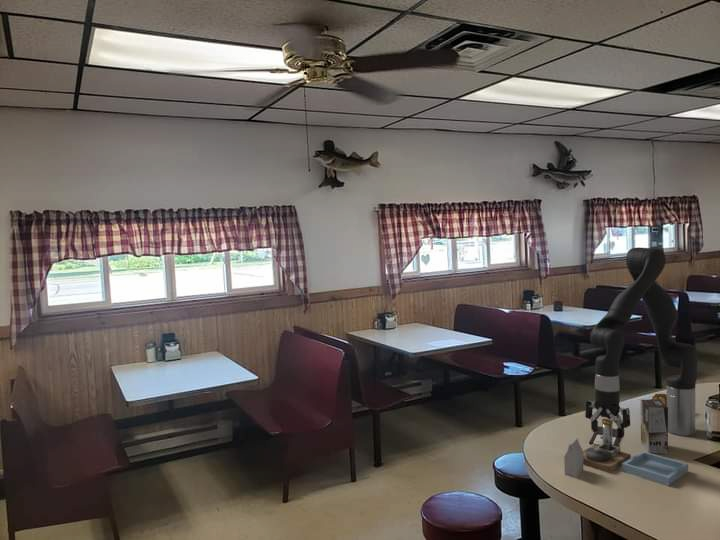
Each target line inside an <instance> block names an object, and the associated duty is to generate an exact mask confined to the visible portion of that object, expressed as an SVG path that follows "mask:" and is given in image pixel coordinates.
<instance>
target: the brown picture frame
mask: <svg viewBox="0 0 720 540" xmlns="http://www.w3.org/2000/svg"><path fill="white" fill-rule="evenodd" d="M612 437H613V446H616V447H619V444H620V440H621V439H618V438H617V428H613V427H612ZM618 443H619V444H618ZM588 444H589V445H592V444H594V445H595V444H597V445H601V444H603V426H599V425H598V431H597V432H593V434H592V436H591V438H590V440H589V442H588ZM594 445H593V446H594Z"/></svg>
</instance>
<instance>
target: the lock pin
mask: <svg viewBox="0 0 720 540" xmlns="http://www.w3.org/2000/svg"><path fill="white" fill-rule="evenodd" d="M601 423H602V427H603V449H605V450H608V451H612V450H613V437H612V428H613V423H614V422H613V420H612V419H608V418H606V417H604V418H602V419H601Z"/></svg>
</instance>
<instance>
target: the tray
mask: <svg viewBox="0 0 720 540" xmlns="http://www.w3.org/2000/svg"><path fill="white" fill-rule="evenodd" d="M621 471H622V472H623V473H626V474H629V475H632V476H636V477H638V476H639V478H641V477H642V478H641V479H644V480H647V481H651V482H655V483H657V484H660V485H664V486H667V487H670V486H671V485H673V484H675V482H676V481H678V480H679V479H681V478H682V477H684V475H686V474H687V473H689V463H686V462H682V461H678V460H675V459H672V458H668V457H665V456H660V455H658V454H655V453H649V452H648V451H643V450H642V451H641V452H639V453H637V454H635V455H634V456H631V458H630V459H629V460H627V461H626V462H624V463H622V466H621Z"/></svg>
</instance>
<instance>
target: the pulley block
mask: <svg viewBox="0 0 720 540" xmlns="http://www.w3.org/2000/svg"><path fill="white" fill-rule="evenodd" d="M621 450H622V449H621V447H620V446H617V447H616V446H613V450H612V451H608V450H605V449H603V444H601V445H597V444H595V445H592V446H590V447H589V448H586V449H584V450H583V466H587V467H590V468H593V469H595V470H599V471H602V472H604V473H605V472H606V473H608V474H611V473H612V472H614V471H616V470H618V469H619V468H620V467H622V463H624V462H626V461H627V460H629V459H630V458H632V456H631V455H632V454H631V453H628V452H624V451H621ZM615 469H616V470H615Z"/></svg>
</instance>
